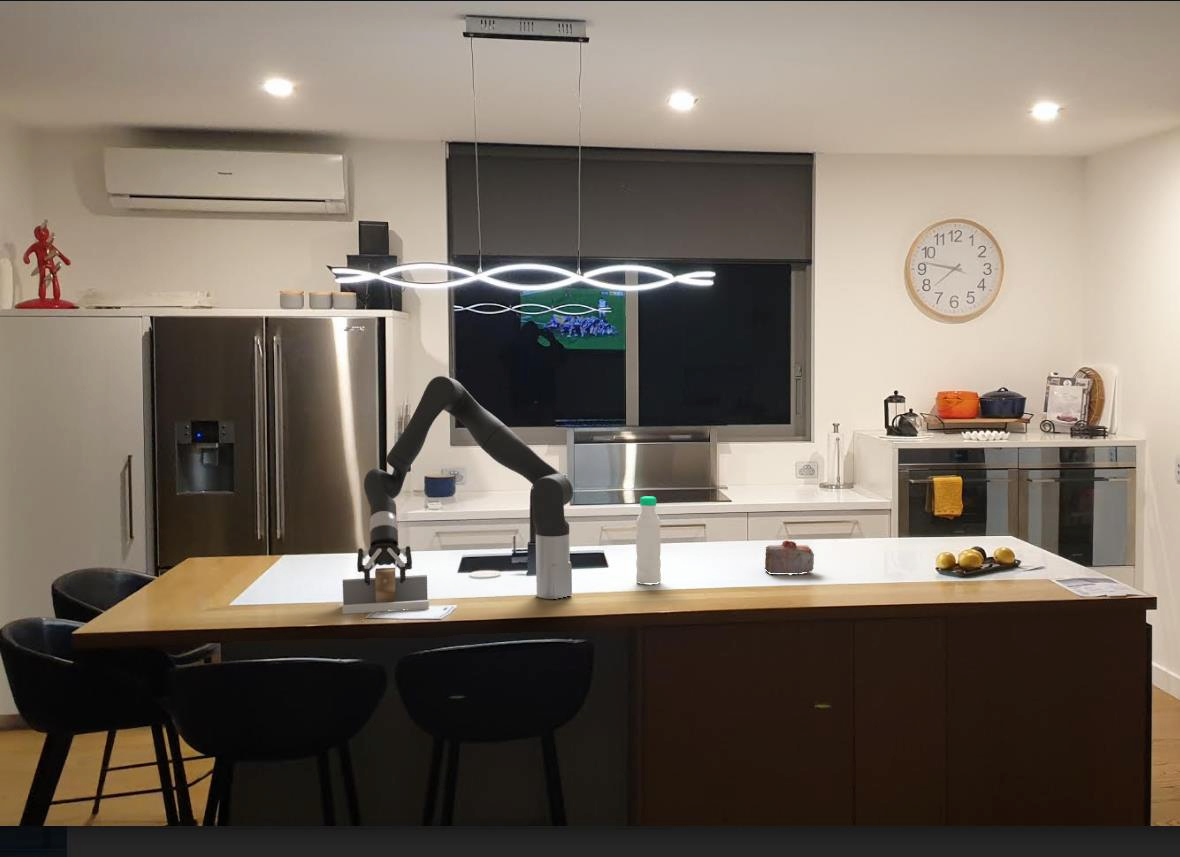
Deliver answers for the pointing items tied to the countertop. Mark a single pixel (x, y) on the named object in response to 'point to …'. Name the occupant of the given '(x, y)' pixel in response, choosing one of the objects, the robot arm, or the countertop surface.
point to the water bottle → (648, 542)
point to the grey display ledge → (364, 601)
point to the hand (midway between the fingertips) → (385, 582)
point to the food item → (789, 558)
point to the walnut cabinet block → (385, 585)
